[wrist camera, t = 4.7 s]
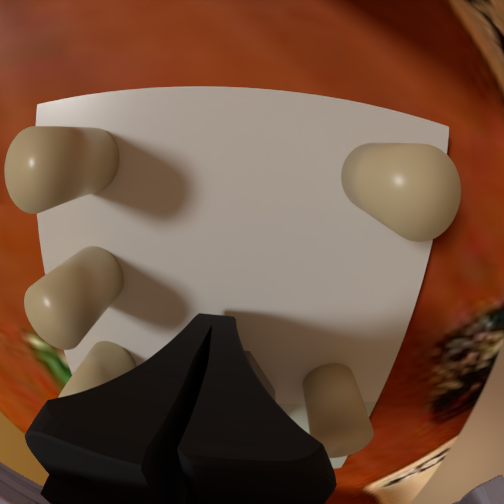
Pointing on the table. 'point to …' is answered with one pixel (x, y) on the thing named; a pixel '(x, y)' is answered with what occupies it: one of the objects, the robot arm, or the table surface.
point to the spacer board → (236, 235)
